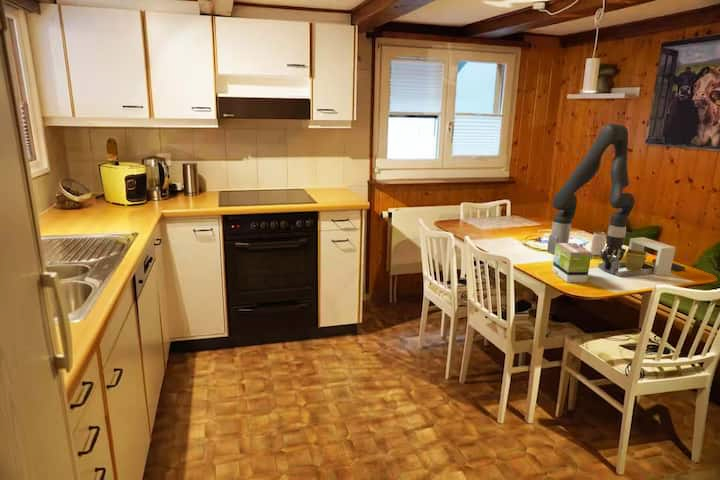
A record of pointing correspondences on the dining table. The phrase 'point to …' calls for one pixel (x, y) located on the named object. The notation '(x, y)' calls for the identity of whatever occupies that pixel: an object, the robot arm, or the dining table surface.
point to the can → (598, 243)
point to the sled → (616, 263)
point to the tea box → (571, 262)
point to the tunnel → (663, 255)
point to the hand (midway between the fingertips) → (610, 269)
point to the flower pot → (635, 259)
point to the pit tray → (674, 266)
